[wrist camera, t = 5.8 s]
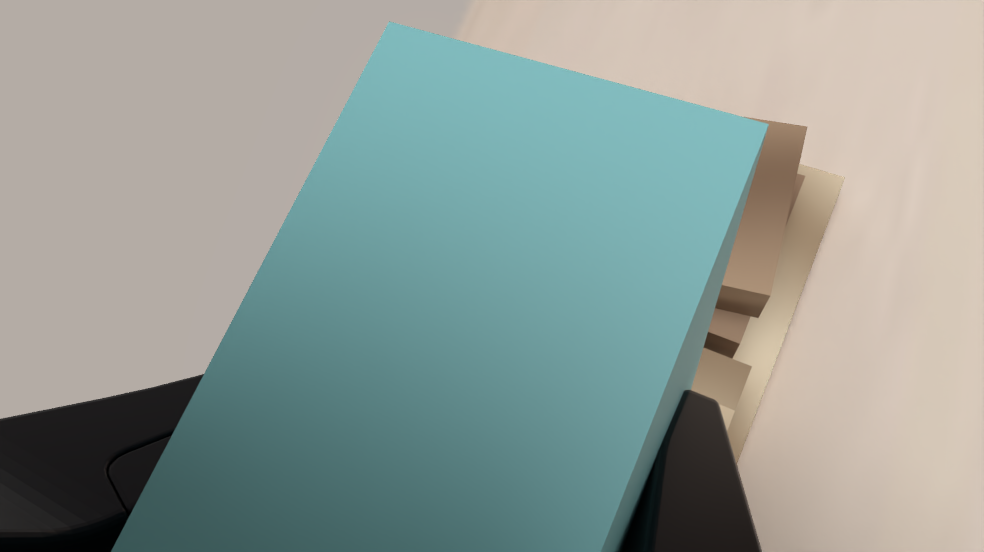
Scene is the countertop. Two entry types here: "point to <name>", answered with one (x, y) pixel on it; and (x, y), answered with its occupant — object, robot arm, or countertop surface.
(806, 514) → the countertop surface
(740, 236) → the offcut stack
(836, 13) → the countertop surface
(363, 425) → the teal panel
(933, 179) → the countertop surface
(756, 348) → the rack
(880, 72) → the countertop surface
